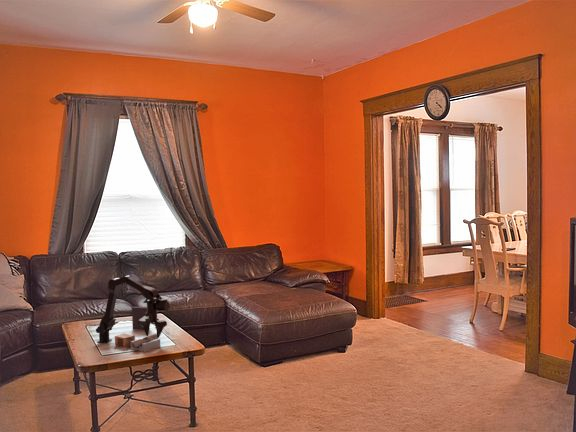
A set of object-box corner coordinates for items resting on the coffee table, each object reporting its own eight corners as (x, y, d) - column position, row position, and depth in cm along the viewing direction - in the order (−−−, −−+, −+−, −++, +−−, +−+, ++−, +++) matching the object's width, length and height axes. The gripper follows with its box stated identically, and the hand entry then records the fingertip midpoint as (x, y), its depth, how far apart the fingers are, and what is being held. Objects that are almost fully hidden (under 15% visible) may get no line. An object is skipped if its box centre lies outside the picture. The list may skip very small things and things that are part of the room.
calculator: (150, 329, 354) (149, 306, 353) (146, 330, 349) (146, 308, 349) (135, 328, 357) (134, 306, 356) (132, 330, 352) (131, 307, 352)
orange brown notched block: (125, 348, 309) (125, 338, 309) (115, 346, 314) (114, 336, 314) (135, 345, 315) (134, 335, 315) (124, 343, 320) (124, 333, 320)
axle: (137, 349, 302) (137, 342, 302) (132, 347, 305) (132, 340, 304) (158, 341, 316) (158, 334, 315) (153, 339, 318) (153, 333, 317)
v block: (144, 351, 302) (144, 344, 302) (131, 348, 308) (130, 341, 308) (160, 346, 312) (160, 339, 312) (147, 343, 318) (146, 336, 318)
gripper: (130, 311, 312) (131, 338, 313) (152, 314, 302) (153, 342, 303) (145, 307, 322) (145, 333, 322) (167, 311, 312) (167, 337, 312)
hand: (152, 336), depth 315 cm, fingers open, 9 cm apart
